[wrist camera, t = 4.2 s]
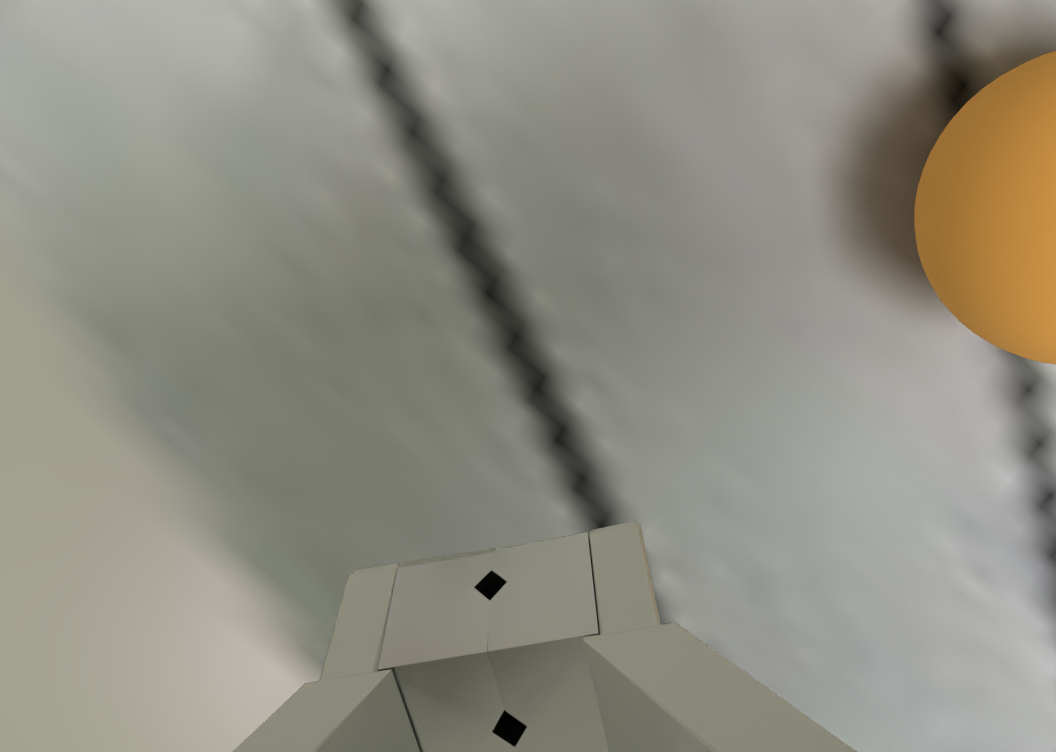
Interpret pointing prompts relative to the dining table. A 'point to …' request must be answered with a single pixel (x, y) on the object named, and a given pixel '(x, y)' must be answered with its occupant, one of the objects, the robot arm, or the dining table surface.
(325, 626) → the dining table surface
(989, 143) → the ball
